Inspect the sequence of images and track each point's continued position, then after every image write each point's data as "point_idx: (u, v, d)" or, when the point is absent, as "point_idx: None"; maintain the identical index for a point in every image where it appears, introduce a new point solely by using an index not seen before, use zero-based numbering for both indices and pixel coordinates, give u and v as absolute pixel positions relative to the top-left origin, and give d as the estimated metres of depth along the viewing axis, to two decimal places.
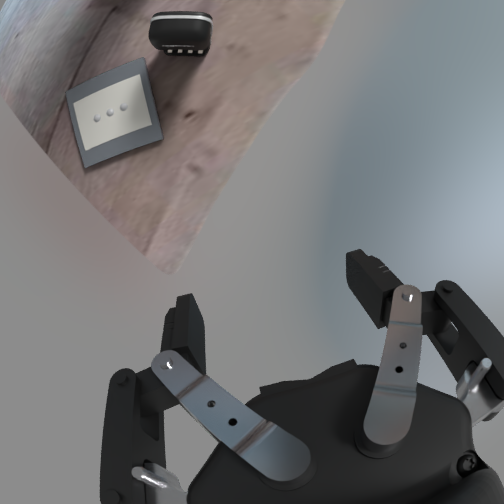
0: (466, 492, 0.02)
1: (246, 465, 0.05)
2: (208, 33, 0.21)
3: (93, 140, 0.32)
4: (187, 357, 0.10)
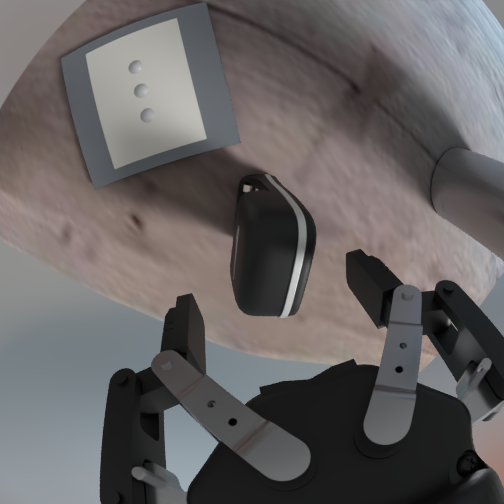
0: (466, 492, 0.02)
1: (246, 465, 0.05)
2: None
3: (98, 66, 0.15)
4: (187, 357, 0.10)
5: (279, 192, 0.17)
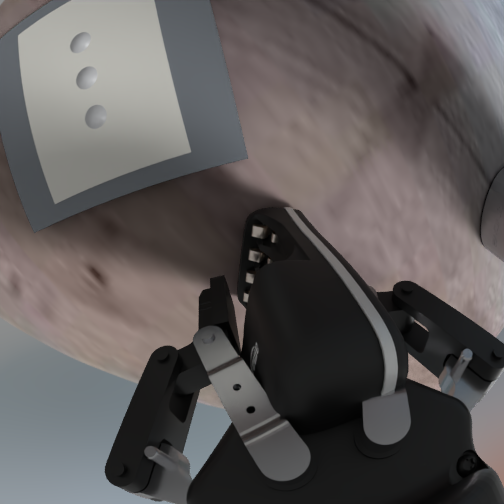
0: (466, 492, 0.02)
1: (250, 454, 0.06)
2: None
3: (31, 49, 0.07)
4: (227, 333, 0.11)
5: (326, 261, 0.09)
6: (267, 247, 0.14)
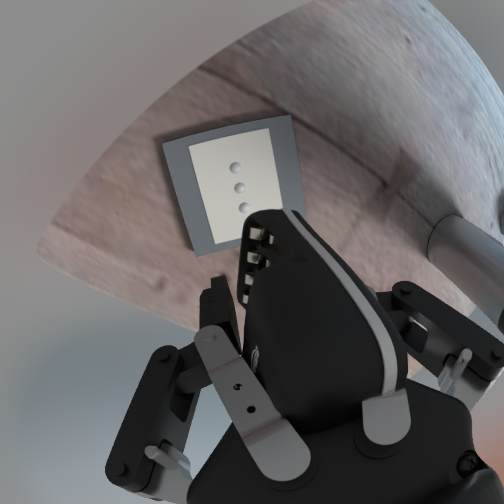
0: (466, 492, 0.02)
1: (250, 454, 0.06)
2: None
3: (202, 160, 0.26)
4: (228, 332, 0.11)
5: (324, 263, 0.09)
6: (265, 249, 0.14)
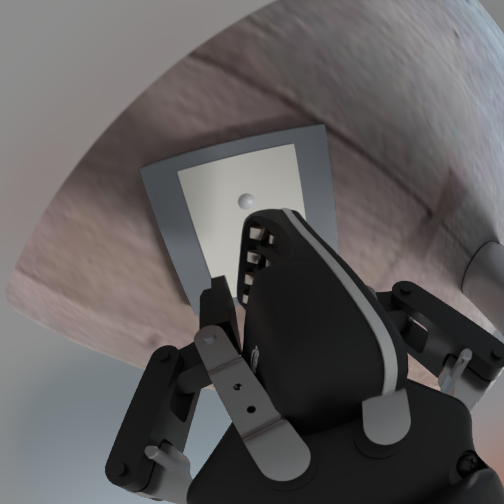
0: (466, 492, 0.02)
1: (250, 454, 0.06)
2: None
3: (198, 192, 0.18)
4: (228, 332, 0.11)
5: (324, 263, 0.09)
6: (265, 248, 0.14)
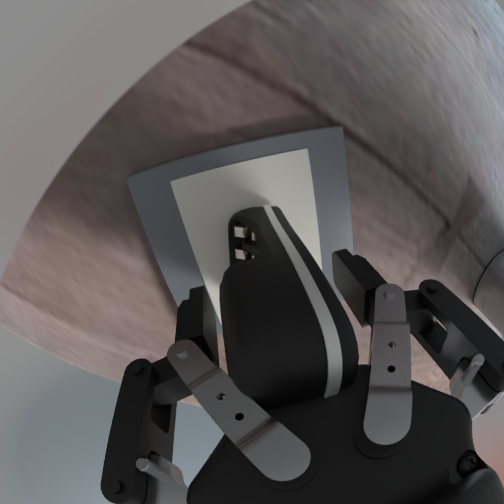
0: (466, 492, 0.02)
1: (247, 461, 0.06)
2: None
3: (195, 206, 0.15)
4: (202, 346, 0.10)
5: (287, 257, 0.10)
6: (249, 245, 0.15)
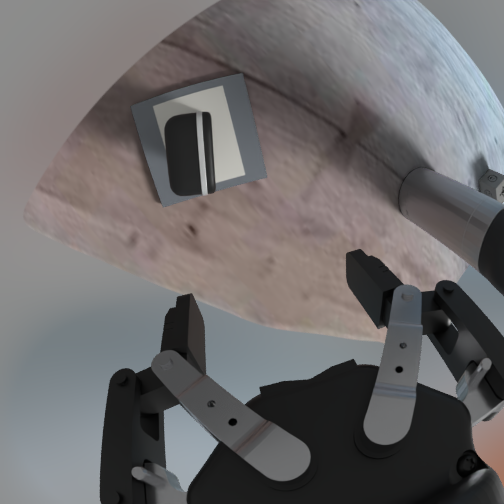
0: (466, 492, 0.02)
1: (246, 465, 0.05)
2: (186, 195, 0.21)
3: (165, 117, 0.27)
4: (187, 357, 0.10)
5: None
6: None
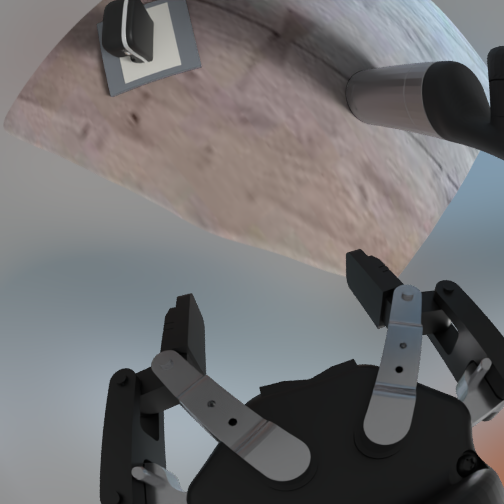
0: (466, 492, 0.02)
1: (246, 465, 0.05)
2: (112, 49, 0.19)
3: None
4: (187, 357, 0.10)
5: None
6: None
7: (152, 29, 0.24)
